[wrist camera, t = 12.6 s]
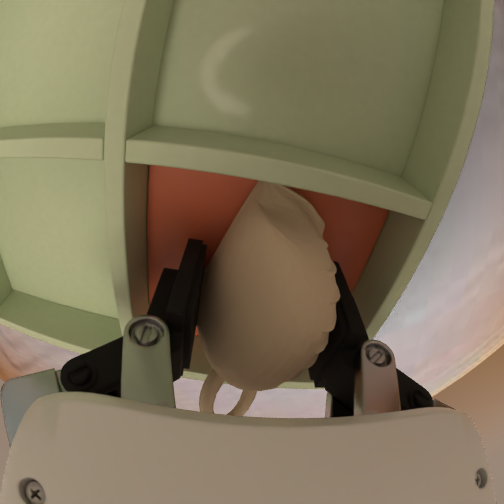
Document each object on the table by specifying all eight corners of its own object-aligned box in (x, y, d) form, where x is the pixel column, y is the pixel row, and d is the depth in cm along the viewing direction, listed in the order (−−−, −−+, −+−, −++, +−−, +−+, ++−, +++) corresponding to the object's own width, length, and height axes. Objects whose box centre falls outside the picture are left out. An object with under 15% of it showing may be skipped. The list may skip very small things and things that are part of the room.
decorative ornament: (352, 224, 11) (408, 324, 6) (244, 343, 15) (243, 436, 10) (266, 169, 10) (281, 256, 5) (173, 315, 14) (151, 411, 9)
